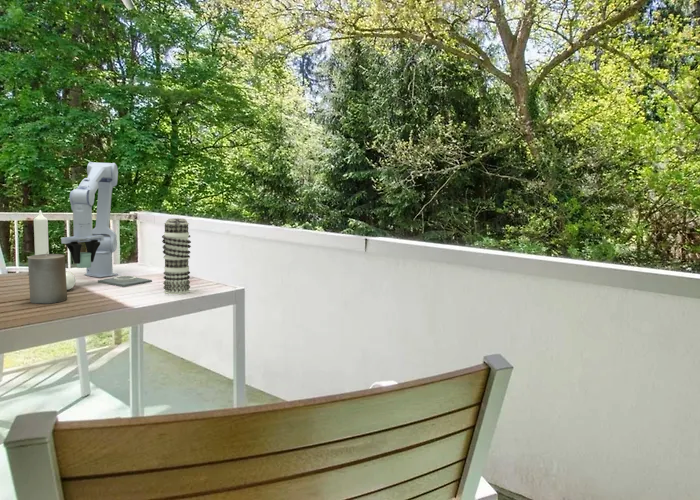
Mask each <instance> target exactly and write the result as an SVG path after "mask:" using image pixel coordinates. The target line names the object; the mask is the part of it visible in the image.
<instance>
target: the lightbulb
mask: <svg viewBox="0 0 700 500" xmlns="http://www.w3.org/2000/svg"><path fill="white" fill-rule="evenodd" d="M76 280H77V279H76V276H75V275H74V274H73V273H72V272H70V271H67V270H66V285H67V291H69V290H70V289H72V288H74V287H75V285H76Z"/></svg>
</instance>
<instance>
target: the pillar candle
mask: <svg viewBox="0 0 700 500" xmlns="http://www.w3.org/2000/svg"><path fill="white" fill-rule="evenodd" d="M47 253H48V252H47ZM47 253H46V254H40V255H35V254H33V255H29V256H27V264H28V268H27V269H28V284H29V285H28V287H29V301H30V303H31V304H55V303H61V302H63V301H64V302H65V301H66V300H67V299H68V290H67V285H66V271H67V269H66V257H65V254H63V253H62V254H61V253H49V254H47Z"/></svg>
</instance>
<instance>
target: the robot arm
mask: <svg viewBox="0 0 700 500" xmlns="http://www.w3.org/2000/svg"><path fill="white" fill-rule="evenodd" d="M86 172H87V177H84V178H83V179H82V180H81V182H80V183H79V185H78V186H77V187H76V188H74V189H73V190H71V191H70V193H69V202H70V206H71V207H70V209H71V211H72V218H73V219H72V222H73V225H72V226H73V236H66V237H65V236H64V237H61V242H60V243H61V244H64V245H65V247H66V248H67V249H68V251H69V252H70V254H71V256H72V257H71V258H72V260H73V262H74V264H76V265H77V264H80V252H81V249H82V247H83V246H82V244H81V243H84V245H85V247H86V252H90V253H91V267H89V268H85V270H86V271H85V272H86V273H84V275H85V276H90V277H93V278H94V277H95V278H106V277H111V276H119V275H118V273H115V272H114V271H113V268H114V267H113V253H114V252H115V251H116V250H117V248H118V243H117V241H118V239H117V234H116V231H113V230H112V229H111V228H110V221H111V207H112V195H113V194H112V193H113V188H114V187H116V186H117V185H118V177H119V170H118V165H117V164H116V162H112V163H111V162H94V161H89V162H88V163H87V167H86ZM96 192H97V202H96V203H97V204H96V216H95V217H96V218H95V226H94V228H93V216H92V215H93V214H92V213H93V212H92V209H93V206H94V203H95V197H96V196H95V194H96Z"/></svg>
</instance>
